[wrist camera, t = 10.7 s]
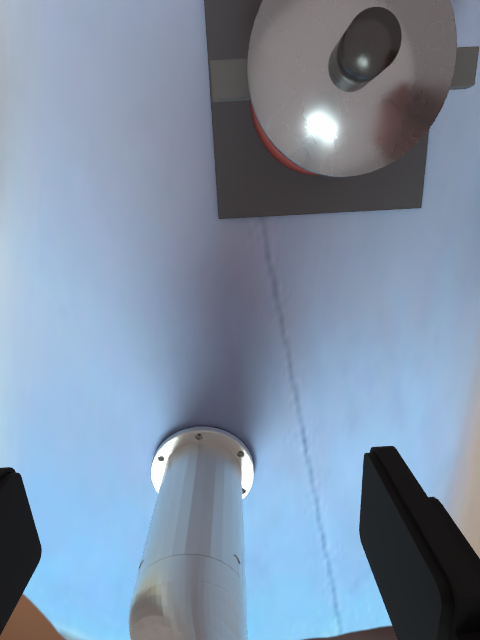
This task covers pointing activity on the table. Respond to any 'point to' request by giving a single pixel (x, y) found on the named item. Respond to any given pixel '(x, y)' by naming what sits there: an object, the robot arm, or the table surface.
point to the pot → (234, 87)
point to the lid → (349, 78)
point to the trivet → (265, 171)
